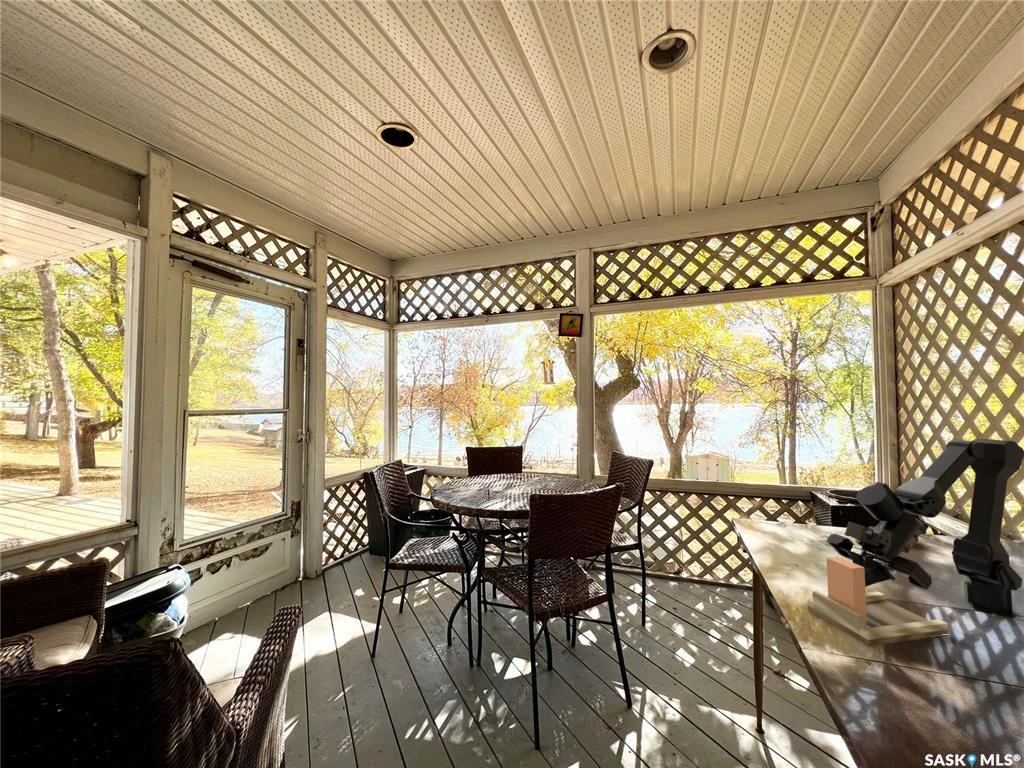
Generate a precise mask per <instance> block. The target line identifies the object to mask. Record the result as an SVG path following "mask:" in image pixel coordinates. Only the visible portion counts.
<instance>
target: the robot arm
mask: <svg viewBox="0 0 1024 768" xmlns="http://www.w3.org/2000/svg"><path fill="white" fill-rule="evenodd" d="M1023 460H1024V449H1023V448H1022V447H1021V446H1020V445H1019V444H1018V443H1017V442H1016V441H1013V440H1005V439H1003V440H1002V439H991V438H990V439H989V438H974V439H973V440H965V439H964V440H963V439H953V440H950V441H948V442H947V444H946V448H945V449H944V450H943V451H942V452H941V454H940V455H938V457H937V458H935V460H934V461H933V462H932V463H931V464H930V465H929V466H928V468H926V470H924V472H923V473H922V474H921V475H920V476H918V477H917V478H914V479H912V480H908V481H904V483H903V484H900V486H898V487H897V488H896V489H894V491H893V490H892V489H891V488H890V486H889V485H888V484H887V483H885V482H879V481H875V483H874V485H872V484H871V485H868V486H865V487H863V488H862V489H859V490H858V491H857V492H856V496H855V497H856V500H857V502H859V503H860V505H861V506H862V507H863V508H864V509H865V510H866V511H867V512H868V514H870V515H871V516H872V517H873V518H874V519H876V520H878V521H879V523H878V524H877V525H878V526H877V525H876V526H877V527H875V526H872V525H870V526H868V527H867V526H864V525H860V524H857V523H854V522H851V521H848V523H847V526H846V529H845V532H844V536H843V535H841V534H837V533H832V534H831V533H830V535H829V536H828V537H827V538H826V540H825V541H826V542H827V543H828V544H829V546H831V547H832V548H833V549H834V550H835V551H836V552H837V554H839V555H840V556H841V557H842V558H846V559H848V560H851V562H852V563H855V564H857V565H860V566H862V567H864V571H865V588H866V587H869V586H872V585H876V584H879V583H881V582H885V581H888V580H889V581H890V580H891V581H895V580H896V577H895V575H896V573H900V574H903V575H906V576H908V577H907V578H908V581H909V583H910V584H911V585H913V586H915V587H917V588H920V589H922V590H924V591H927V590H929V588H930V587H931V585H932V584H933V583H932V582H933V581H932V577H931V575H930V574H929V573H928V572H927V571H926V570H925V569H924V568H923V567H922V566H921V565H920V564H919V563H918V562H917V561H915V560H911V559H909V558H905V557H902V556H901V554H902V552H903V553H905V554H908V553H909V552H910V548H908V545H907V544H908V543H909V541H910V540H911V539H912V537H913V536H914V534H915V533H916V532H919V533H921V534H923V535H926V534H927V529H926V527H925V525H924V521H923V520H920V519H917V518H916V516H919V517H923V518H931V519H933V518H936V517H937V516H938V515H940V513H941V511H942V510H943V508H944V507H945V505H946V504H947V499H946V493H947V491H948V490H949V489H950V488H951V487H952V486H953V485H954V483H955V482H956V481H957V480H958V479H959V478H960V477H961V476H962V475H963V474H964V473H965V471H967V469H968V468H969V467H970V469H972V471H973V473H974V482H973V491H972V498H971V506H970V514H969V521H968V528H967V529H968V530H967V533H966V534H965V535H964V536H962V537H961V538H958V537H956V538H955V539H954V540H953V547H952V548H953V549H952V551H951V555H952V561H953V563H954V566H955V568H956V570H957V571H956V572H957V574H958V575H961V576H962V575H963V576H965V577H966V580H965V581H964V582H963V586H964V587H963V589H964V590H963V591H964V599H965V600H966V601H967V603H969V605H970V606H971V607H972V609H975V610H977V611H983V612H988V613H992V614H993V613H994V614H999V615H1001V616H1008V617H1013V618H1015V617H1017V614H1016V613H1015V611H1014V609H1013V597H1012V596H1013V595H1012V591H1019V589H1021V588H1022V585H1023V584H1022V582H1023V578H1022V577H1021V576H1020V575H1019V574H1018V573H1017V572H1016V571H1015V570H1014V569H1013V567H1012V566H1011V565H1010V555H1009V553H1008V551H1007V550H1006V548H1005V546H1004V545H1003V544H1002V542H1001V534H1002V527H1003V526H1002V525H1003V519H1004V511H1005V510H1004V509H1005V504H1006V503H1005V502H1006V495H1007V486H1008V480H1009V479H1010V478H1012V477H1013V475H1015V474H1016V473H1017V472H1019V470H1020V469H1021V466H1022V462H1023ZM849 537H850V538H854V539H855V543H857V545H856V544H855V543H854V542H853V541H852V540H851V539H850V538H849Z"/></svg>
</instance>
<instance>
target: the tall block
mask: <svg viewBox="0 0 1024 768" xmlns="http://www.w3.org/2000/svg"><path fill="white" fill-rule="evenodd" d="M825 560H826V574H827V575H826V576H827V578H826V580H827V597H829V598H831V599H833V600H834V601H836V602H838V603H840V604H842V605H844V606H846V607H848V608H850V609H851V610H853V611H855V612H857V613H859V614H861V615H863V616H864V625H866V624H867V612H866V593H867V592H866V587H865V571H864V567H862V566H860V565H857V564H855V563H853V561H850V560H847V559H845V558H844V557H840V556H830V557H828V556H827V557H826V559H825Z"/></svg>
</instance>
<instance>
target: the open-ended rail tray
mask: <svg viewBox="0 0 1024 768" xmlns="http://www.w3.org/2000/svg"><path fill="white" fill-rule="evenodd" d="M885 596H886V595H885V593H882V592H880V591H870V592H869V591H868V592H866V612H867V624H866V625H864V616H863V615H861V614H859V613H857V612H855V611H853V610H851V609H850V608H848V607H846V606H844V605H842V604H840V603H838V602H836V601H834V600H833V599H831V598H829V597H828V595H825V594H823V593H821V592H820V591H817V590H815V591H812V598H807V610H808V611H809V612H810V613H813V614H814V615H816V616H818V617H819V618H821V619H823V620H824V621H825V622H827V623H830V625H833V626H834V627H836V628H837V629H839V630H841V631H842V632H844V633H846V634H848V635H849V636H851V637H853V638H855V639H856V640H858V641H860V642H861V643H863V644H865V645H866V646H867V647H868V646H877V645H885V644H893V643H900V642H908V641H916V640H922V639H921V638H924V639H926V638H925V637H930V636H934V635H942V634H948V635H949V624H948V622H946V621H944V620H942V619H938V618H937V619H931V620H928V619H927V618H924V617H922V616H920V615H918V614H916V613H914V612H913V611H912V612H911V611H909V610H907V609H906V608H903V607H901V606H899V605H896V604H895V603H892V602H890V601H888V600H886V597H885Z"/></svg>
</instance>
